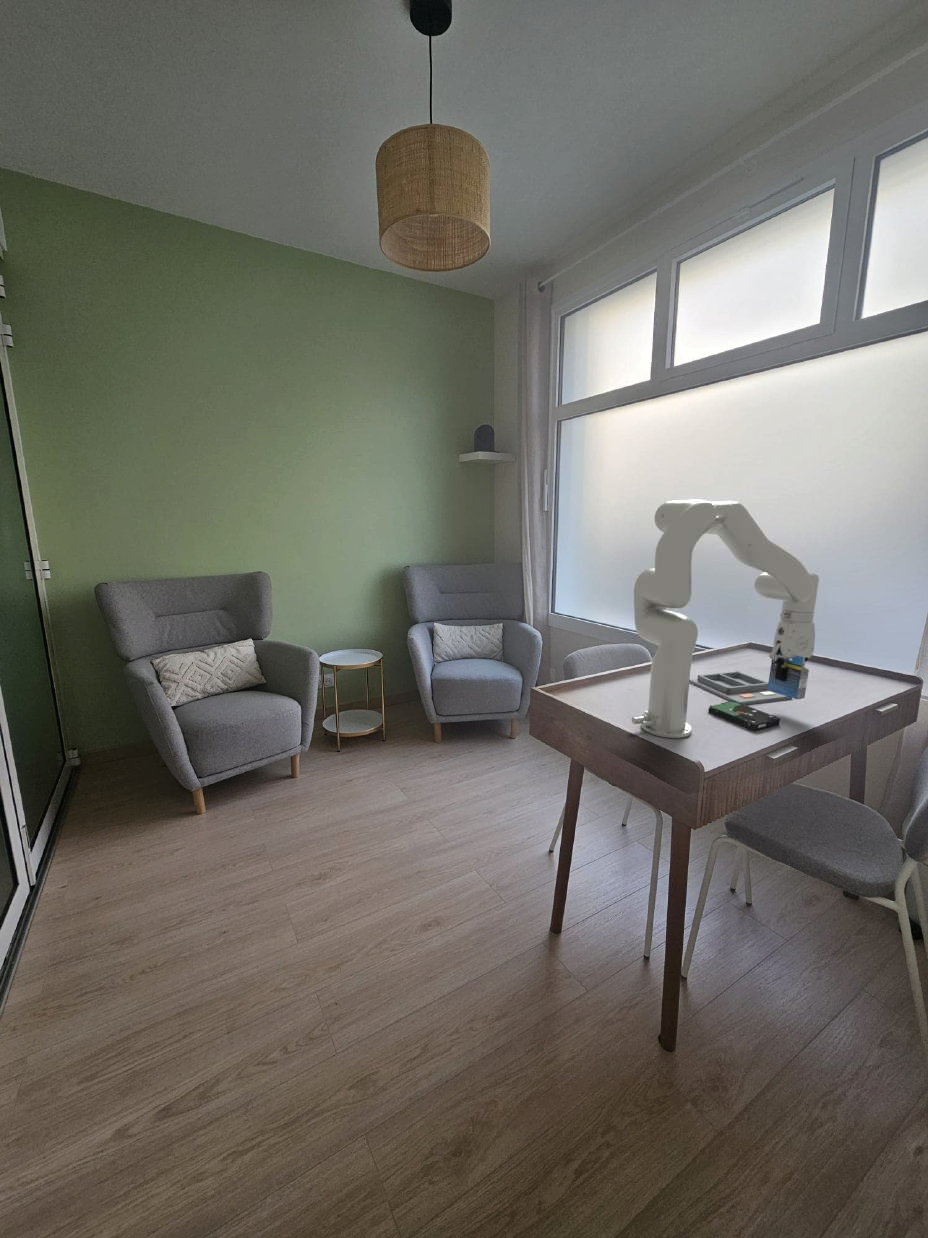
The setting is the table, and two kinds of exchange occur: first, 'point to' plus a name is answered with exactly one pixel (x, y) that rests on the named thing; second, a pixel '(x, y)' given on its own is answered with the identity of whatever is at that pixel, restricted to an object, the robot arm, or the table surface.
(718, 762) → the table surface
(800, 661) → the label tape box
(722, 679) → the grey compartment tray
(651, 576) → the robot arm
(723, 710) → the disk drive
